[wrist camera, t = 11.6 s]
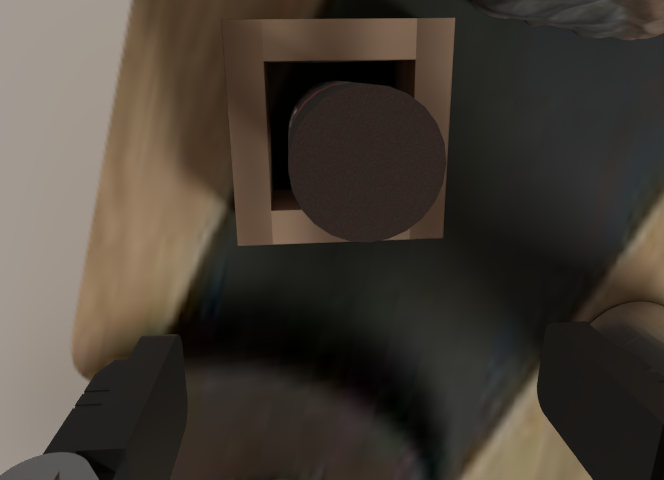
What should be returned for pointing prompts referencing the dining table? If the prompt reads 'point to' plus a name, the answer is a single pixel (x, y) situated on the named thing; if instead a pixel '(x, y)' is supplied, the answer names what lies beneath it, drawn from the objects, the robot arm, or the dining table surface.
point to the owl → (584, 15)
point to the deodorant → (363, 159)
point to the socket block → (313, 47)
